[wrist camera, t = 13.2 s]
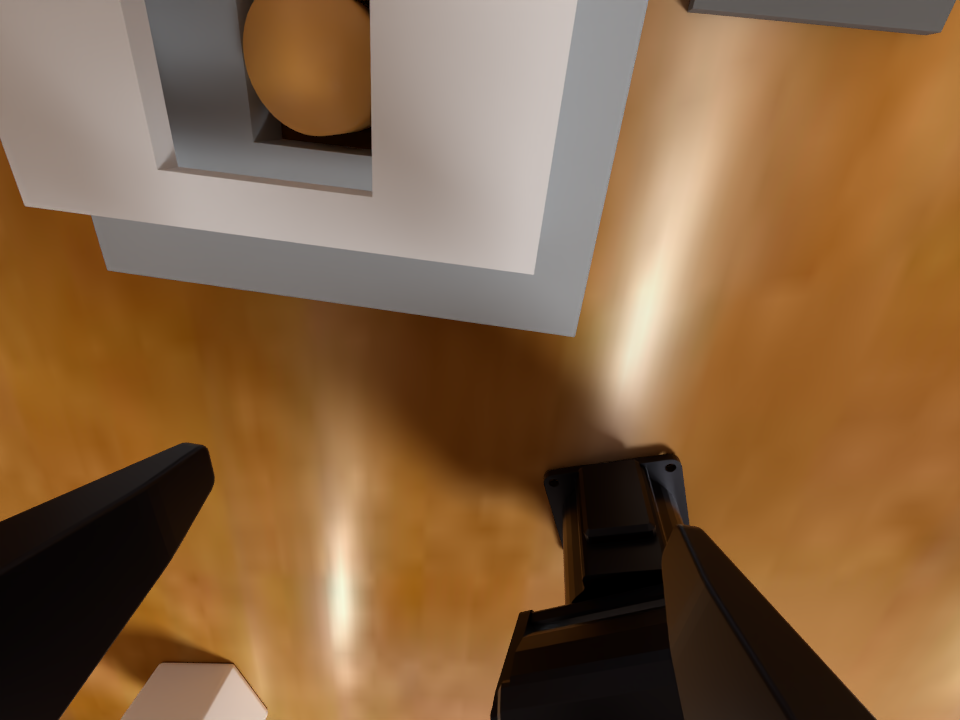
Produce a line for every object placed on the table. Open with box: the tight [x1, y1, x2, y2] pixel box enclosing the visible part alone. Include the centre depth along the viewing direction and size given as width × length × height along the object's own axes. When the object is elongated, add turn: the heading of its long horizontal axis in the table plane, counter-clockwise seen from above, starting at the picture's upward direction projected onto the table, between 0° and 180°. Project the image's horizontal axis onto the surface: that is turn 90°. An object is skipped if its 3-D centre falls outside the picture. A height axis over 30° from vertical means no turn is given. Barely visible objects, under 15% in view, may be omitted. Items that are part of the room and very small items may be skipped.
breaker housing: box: [0, 0, 648, 337], centre depth 14 cm, size 16×19×6 cm
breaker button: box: [243, 0, 371, 136], centre depth 15 cm, size 4×4×2 cm
